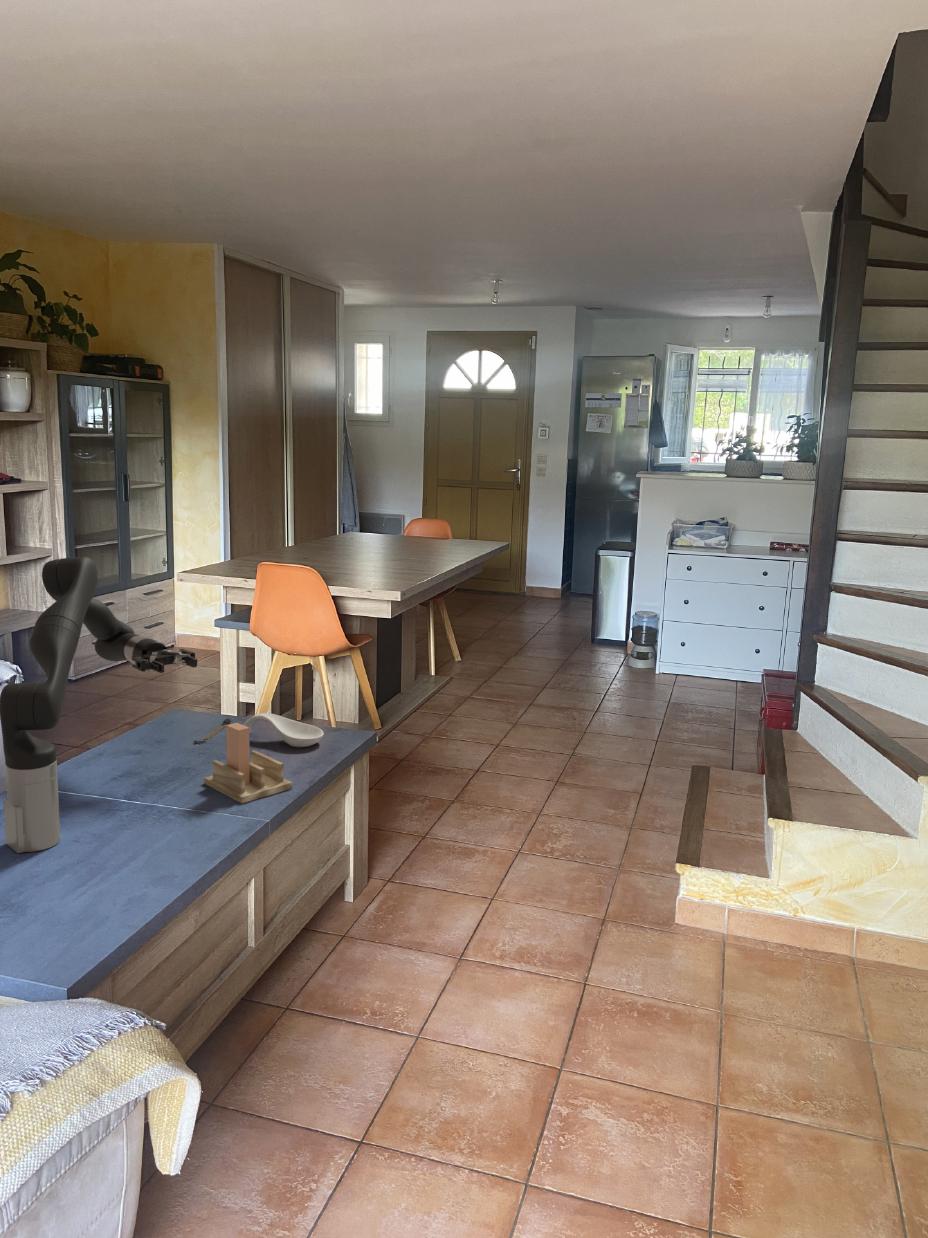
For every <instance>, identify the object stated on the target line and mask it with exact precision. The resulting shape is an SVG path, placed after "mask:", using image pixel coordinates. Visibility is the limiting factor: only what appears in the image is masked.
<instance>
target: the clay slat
mask: <svg viewBox="0 0 928 1238" xmlns="http://www.w3.org/2000/svg"><path fill="white" fill-rule="evenodd" d="M225 728H226V729H225V730H226V731H225V732H226V733H225V734H226V735H225V738H226V739H225V740H226V745H225V746H226V748H225V749H226V757H225V758H226V765H227V766H229V767H231V768H233V769H235V770H237V771H239V772H241V773H243V774H245V785H249V784H250V762H251V761H250V757H251V755H250V754H251V753H250V752H251V750H250V745H251V744H250V734H249V727H246V726H244V725H243V724H241V723H238V722H235V723H228V725H226V727H225Z"/></svg>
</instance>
